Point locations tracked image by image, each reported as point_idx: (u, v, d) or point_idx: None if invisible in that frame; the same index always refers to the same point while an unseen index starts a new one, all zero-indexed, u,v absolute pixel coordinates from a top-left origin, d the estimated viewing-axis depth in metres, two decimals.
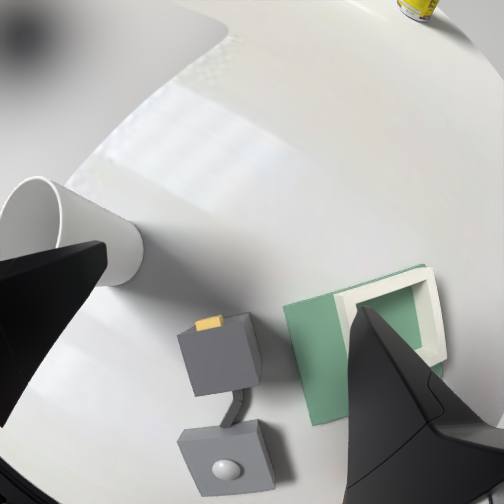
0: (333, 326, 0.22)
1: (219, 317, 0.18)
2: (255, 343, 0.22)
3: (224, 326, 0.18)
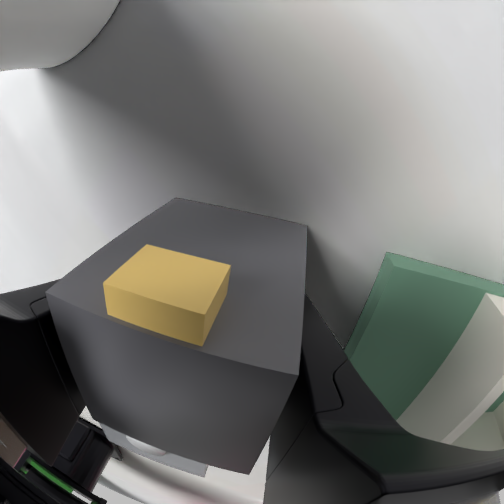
0: (443, 345, 0.09)
1: (210, 306, 0.04)
2: None
3: (215, 359, 0.04)
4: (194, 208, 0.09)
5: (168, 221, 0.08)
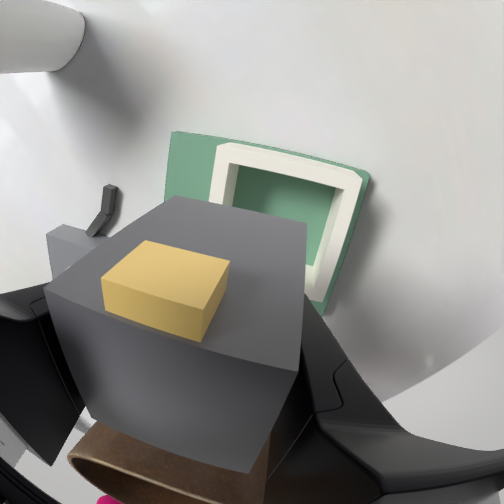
0: None
1: (208, 301, 0.04)
2: None
3: (213, 355, 0.04)
4: (193, 205, 0.09)
5: (168, 218, 0.08)
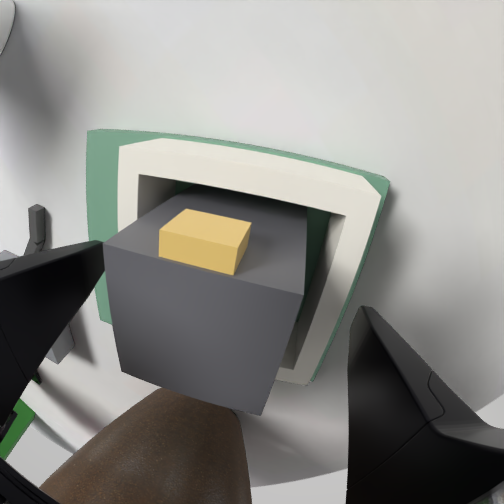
0: None
1: (239, 245, 0.06)
2: None
3: (243, 284, 0.06)
4: (213, 191, 0.11)
5: (194, 199, 0.09)
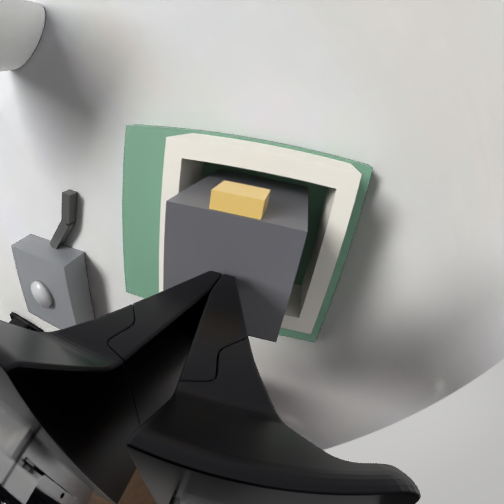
0: None
1: (265, 200, 0.09)
2: None
3: (267, 225, 0.09)
4: (235, 174, 0.13)
5: (222, 179, 0.12)
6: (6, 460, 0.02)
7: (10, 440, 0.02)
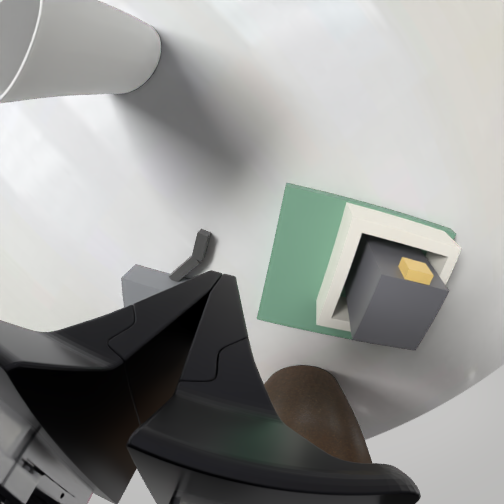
0: (328, 234, 0.19)
1: (431, 274, 0.13)
2: None
3: (432, 288, 0.13)
4: (377, 237, 0.18)
5: (378, 245, 0.17)
6: (6, 459, 0.02)
7: (10, 440, 0.02)
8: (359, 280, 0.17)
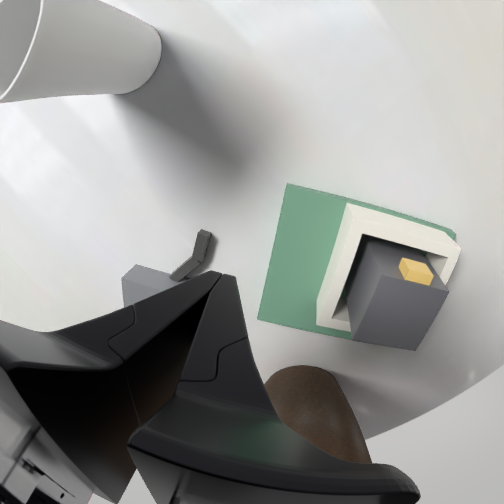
0: (328, 235, 0.19)
1: (431, 274, 0.13)
2: None
3: (432, 288, 0.13)
4: (377, 238, 0.18)
5: (378, 245, 0.17)
6: (5, 459, 0.02)
7: (10, 440, 0.02)
8: (359, 280, 0.17)
